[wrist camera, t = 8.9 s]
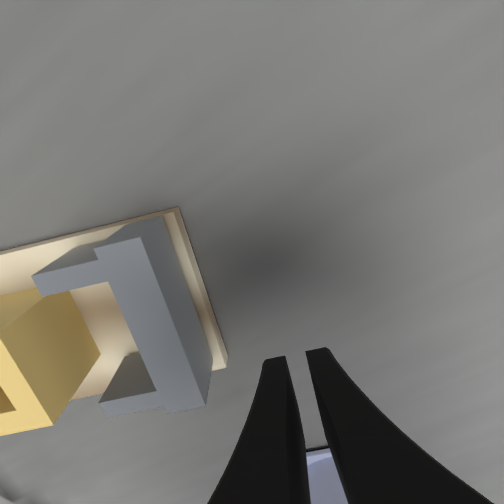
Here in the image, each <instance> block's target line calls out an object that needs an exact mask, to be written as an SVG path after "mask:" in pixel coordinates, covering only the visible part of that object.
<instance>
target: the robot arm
mask: <svg viewBox="0 0 504 504" xmlns="http://www.w3.org/2000/svg"><path fill="white" fill-rule="evenodd" d="M305 352H306V356H307V360H308V365H309V369H310V373H311V378H312V382H313V386H314V391H315V395H316V399H317V404H318V408H319V412H320V416H321V420H322V424H323V428H324V432H325V436H326V440H327V443H328V446H329V448H328V449H323V450H317V451H312V452H306V447H305V439H304V434H303V429H302V423H301V418H300V413H299V408H298V404H297V400H296V396H295V392H294V388H293V384H292V380H291V376H290V373H289V369H288V365H287V361H286V357H285V356H280V357H276V358H271V359H266V360H265V361H264V363H263V366H262V371H261V375H260V379H259V383H258V387H257V390H256V394H255V397H254V400H253V403H252V406H251V409H250V412H249V415H248V417H247V420H246V423H245V425H244V428H243V430H242V433H241V435H240V438H239V440H238V442H237V445H236V447H235V450H234V452H233V454H232V456H231V459H230V461H229V463H228V465H227V467H226V469H225V471H224V473H223V475H222V477H221V479H220V481H219V483H218V485H217V487H216V489H215V491H214V493H213V494H212V496H211V498H210V500H209V502H208V503H207V504H494V503H492V502H491V501H489V500H488V499H487V498H485V497H484V496H483V495H481V494H480V493H479V492H477V491H476V490H474V489H473V488H472V487H470V486H469V485H468V484H466V483H465V482H464V481H462V480H461V479H459V478H458V477H457V476H455V475H454V474H453V473H451V472H450V471H449V470H447V469H446V468H445V467H444V466H443V465H441V464H440V463H439V462H438V461H436V460H435V459H434V458H433V457H431V456H430V455H429V454H428V453H426V452H425V451H424V450H423V449H422V448H421V447H419V446H418V445H417V444H416V443H415V442H414V441H412V440H411V439H410V438H409V437H408V436H407V435H406V434H404V433H403V432H402V431H401V430H400V429H399V428H398V427H397V426H396V425H395V424H394V423H393V422H392V421H390V420H389V419H388V418H387V417H386V416H385V415H384V414H383V413H382V412H381V411H380V410H379V409H378V408H377V407H376V406H375V405H374V404H373V403H372V402H371V401H370V400H369V398H368V397H367V396H366V395H365V394H364V393H363V392H362V391H361V390H360V389H359V387H358V386H357V385H356V384H355V383H354V382H353V381H352V380H351V378H350V377H349V376H348V375H347V373H346V372H345V371H344V370H343V368H342V367H341V366H340V365H339V363H338V362H337V360H336V359H335V358H334V356H333V355H332V353H331V351H330V350H329V349H328V348H326V347H324V348H319V349H314V350H309V351H305Z"/></svg>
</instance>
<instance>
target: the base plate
mask: <svg viewBox="0 0 504 504" xmlns="http://www.w3.org/2000/svg"><path fill="white" fill-rule="evenodd" d="M159 216H163V219H164V222H165V224H166V227H167V230H168V233H169V236H170V238H171V241H172V244H173V247H174V250H175V253H176V255H177V258H178V261H179V264H180V267H181V270H182V272H183V275H184V278H185V281H186V284H187V287H188V289H189V292H190V295H191V298H192V301H193V304H194V306H195V309H196V312H197V315H198V318H199V321H200V323H201V326H202V329H203V332H204V335H205V338H206V340H207V343H208V346H209V349H210V352H211V355H212V357H213V365H212V371H213V370H218V369H223V368H226V366H227V356H228V355H227V352H226V349H225V346H224V343H223V340H222V337H221V334H220V331H219V328H218V325H217V322H216V319H215V316H214V313H213V310H212V307H211V304H210V301H209V298H208V295H207V292H206V289H205V286H204V283H203V280H202V277H201V274H200V271H199V268H198V265H197V262H196V259H195V256H194V253H193V250H192V247H191V244H190V241H189V238H188V235H187V232H186V229H185V226H184V223H183V220H182V217H181V214H180V211H179V208H178V207H175V208H171V209H167V210H163V211H159V212H155V213H151V214H147V215H144V216H140V217H136V218H132V219H128V220H124V221H120V222H116V223H112V224H108V225H104V226H100V227H96V228H92V229H88V230H84V231H80V232H76V233H72V234H68V235H64V236H60V237H56V238H52V239H48V240H44V241H40V242H36V243H32V244H28V245H24V246H20V247H16V248H12V249H8V250H4V251H0V296H3V295H7V294H11V293H16V292H20V291H24V290H28V289H32V288H36V285H35V283H34V281H33V279H32V277H31V276H32V275H33V274H35V273H36V272H38V271H39V270H41V269H42V268H44V267H45V266H47V265H48V264H50V263H51V262H53V261H55V260H56V259H58V258H59V257H61V256H62V255H64V254H65V253H67V252H68V251H70V250H71V249H73V248H75V247H79V246H83V245H87V244H91V243H95V242H99V241H103V240H105V239H107V238H108V237H109V236H111V235H112V234H113V233H115V232H116V231H118V230H119V229H120V228H122V227H123V226H124V225H127V224H131V223H135V222H139V221H143V220H147V219H151V218H155V217H159ZM69 291H70V293H71V295H72V297H73V299H74V301H75V303H76V305H77V307H78V309H79V311H80V313H81V315H82V317H83V319H84V321H85V323H86V325H87V327H88V329H89V331H90V333H91V335H92V337H93V339H94V341H95V343H96V345H97V347H98V349H99V351H100V353H101V355H100V357H99V358H98V360H97V361H96V362H95V364H94V365H93V367H92V368H91V370H90V371H89V373H88V374H87V376H86V377H85V379H84V380H83V382H82V383H81V385H80V386H79V388H78V389H77V391H76V392H75V394H74V395H73V397H72V398H71V400H74V399H78V398H83V397H88V396H93V395H98V394H102V393H104V392H105V391H106V389H107V387H108V385H109V383H110V382H111V380H112V378H113V376H114V374H115V373H116V371H117V369H118V367H119V365H120V364H121V362H122V360H123V358H124V357H125V356H129V355H134V354H138V353H140V352H139V350H138V348H137V346H136V343H135V341H134V339H133V337H132V334H131V332H130V330H129V328H128V325H127V323H126V321H125V319H124V316H123V314H122V312H121V310H120V307H119V305H118V303H117V301H116V298H115V296H114V294H113V292H112V290H111V287H110V285H109V283H108V281H107V282H103V283H99V284H94V285H90V286H86V287H82V288H78V289H73V290H69Z"/></svg>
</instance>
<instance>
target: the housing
mask: <svg viewBox="0 0 504 504" xmlns="http://www.w3.org/2000/svg"><path fill="white" fill-rule="evenodd" d="M31 277H32V279H33V281H34V283H35V285H36V287H37V289H38V291H39V292H40V294H41V296H42V297H44V296H48V295H52V294H56V293H61V292H65V291H69V290H73V289H78V288H82V287H86V286H90V285H94V284H99V283H103V282H107V281H108V283H109V285H110V287H111V290H112V292H113V294H114V296H115V298H116V301H117V303H118V305H119V307H120V310H121V312H122V314H123V316H124V319H125V321H126V323H127V325H128V328H129V330H130V332H131V334H132V337H133V339H134V341H135V343H136V346H137V348H138V350H139V352H140V353H138V354H134V355H129V356H125V357H124V358H123V360H122V362H121V364H120V365H119V367H118V369H117V371H116V373H115V374H114V376H113V378H112V380H111V382H110V383H109V385H108V387H107V389H106V391H105V392H104V394H103V396H102V398H101V399H100V401H99V405H100V407H101V409H102V411H103V412H104V414H105V416H106V418H110V417H115V416H120V415H125V414H130V413H135V412H140V411H145V410H150V409H155V408H160V407H164V408H165V411H166V413H167V414H171V413H176V412H181V411H186V410H191V409H196V408H201V407H206V402H207V395H208V389H209V383H210V377H211V371H212V365H213V357H212V355H211V352H210V349H209V346H208V343H207V340H206V338H205V335H204V332H203V329H202V326H201V323H200V321H199V318H198V315H197V312H196V309H195V306H194V304H193V301H192V298H191V295H190V292H189V289H188V287H187V284H186V281H185V278H184V275H183V272H182V270H181V267H180V264H179V261H178V258H177V255H176V253H175V250H174V247H173V244H172V241H171V238H170V236H169V233H168V230H167V227H166V224H165V222H164V219H163V216H159V217H155V218H151V219H147V220H143V221H139V222H135V223H131V224H127V225H124V226H123V227H122V228H120V229H119V230H118V231H116V232H115V233H113V234H112V235H111V236H109V237H108V238H107V239H105V240H103V241H99V242H95V243H91V244H87V245H83V246H79V247H75V248H73V249H71V250H70V251H68V252H67V253H65V254H64V255H62V256H61V257H59V258H58V259H56V260H55V261H53V262H51V263H50V264H48V265H47V266H45V267H44V268H42V269H41V270H39V271H38V272H36V273H35V274H33V275H32V276H31Z"/></svg>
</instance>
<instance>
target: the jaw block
mask: <svg viewBox="0 0 504 504" xmlns="http://www.w3.org/2000/svg"><path fill="white" fill-rule="evenodd" d="M100 355H101V353H100V351H99V349H98V347H97V345H96V343H95V341H94V339H93V337H92V335H91V333H90V331H89V329H88V327H87V325H86V323H85V321H84V319H83V317H82V315H81V313H80V311H79V309H78V307H77V305H76V303H75V301H74V299H73V297H72V295H71V293H70V291H65V292H61V293H56V294H52V295H48V296H44V297H42V296H41V294H40V292H39V291H38V289H37V287H36V288H32V289H28V290H24V291H20V292H16V293H11V294H7V295H3V296H0V436H2V435H7V434H12V433H17V432H22V431H27V430H32V429H37V428H42V427H47V426H52V425H54V424H55V422H56V421H57V419H58V418H59V416H60V415H61V413H62V412H63V410H64V409H65V407H66V406H67V404H68V403H69V401H70V400H71V398H72V397H73V395H74V394H75V392H76V391H77V389H78V388H79V386H80V385H81V383H82V382H83V380H84V379H85V377H86V376H87V374H88V373H89V371H90V370H91V368H92V367H93V365H94V364H95V362H96V361H97V360H98V358H99V357H100Z"/></svg>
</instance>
